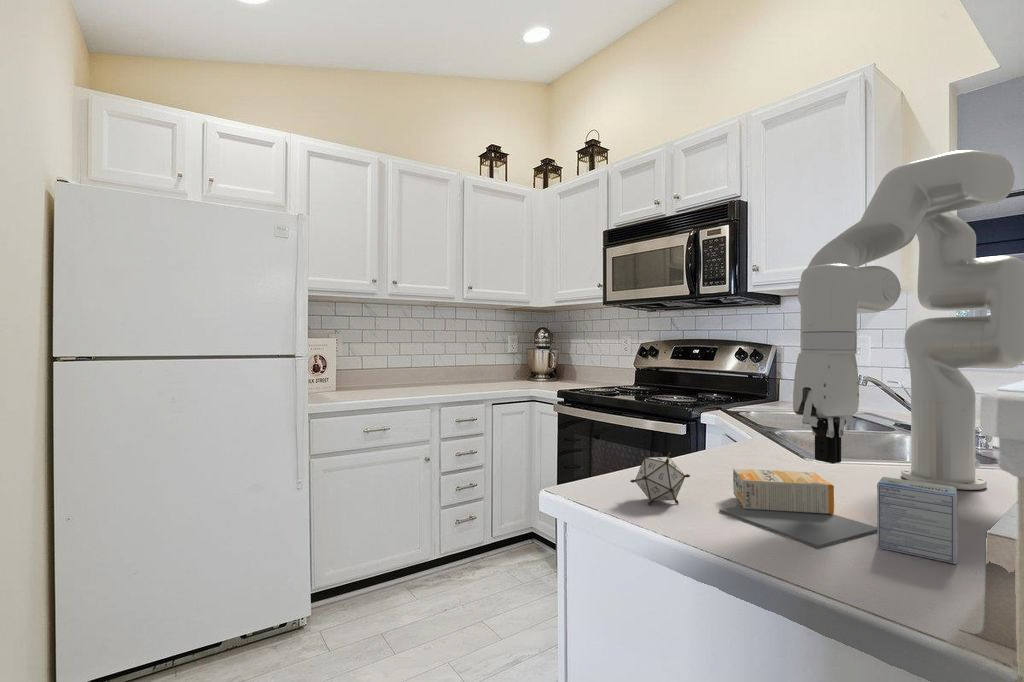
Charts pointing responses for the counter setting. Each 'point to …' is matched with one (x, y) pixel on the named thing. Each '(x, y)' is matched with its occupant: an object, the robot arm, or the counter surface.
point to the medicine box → (917, 518)
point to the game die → (659, 478)
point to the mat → (804, 525)
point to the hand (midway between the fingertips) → (827, 461)
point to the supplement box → (783, 491)
